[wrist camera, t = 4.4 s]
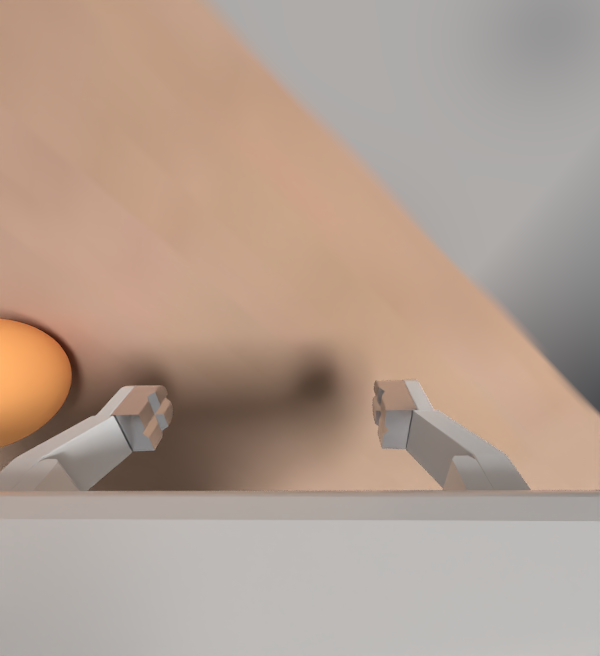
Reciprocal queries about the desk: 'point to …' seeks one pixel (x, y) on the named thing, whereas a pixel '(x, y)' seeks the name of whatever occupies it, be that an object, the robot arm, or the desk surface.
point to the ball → (29, 379)
